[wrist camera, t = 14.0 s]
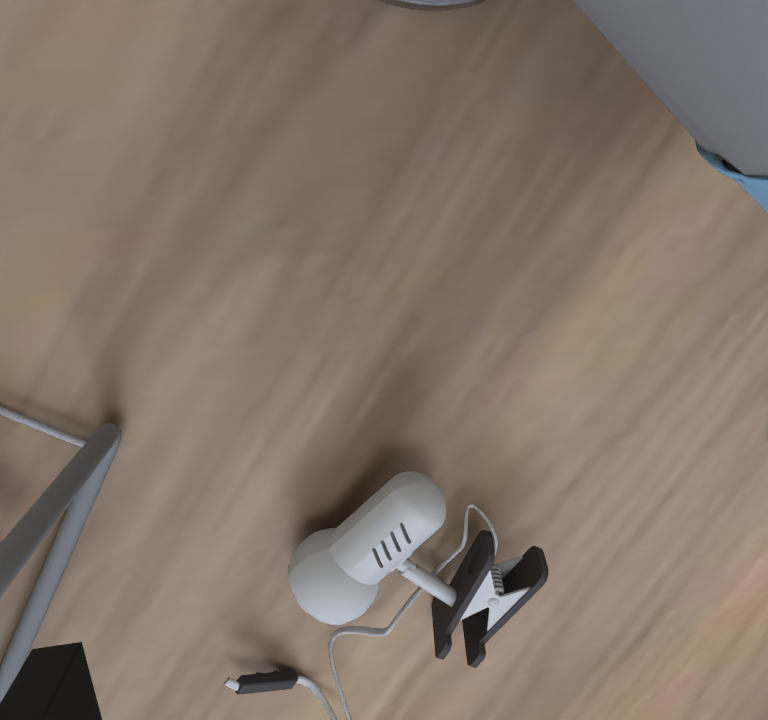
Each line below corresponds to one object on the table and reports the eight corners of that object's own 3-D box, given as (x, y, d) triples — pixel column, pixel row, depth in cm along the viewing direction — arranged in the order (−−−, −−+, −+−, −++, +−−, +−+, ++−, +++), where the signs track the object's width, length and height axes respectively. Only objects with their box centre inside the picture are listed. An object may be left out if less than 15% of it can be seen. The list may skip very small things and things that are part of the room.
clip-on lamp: (353, 693, 49) (551, 537, 43) (349, 787, 44) (576, 625, 37) (206, 611, 46) (398, 427, 39) (182, 703, 40) (401, 506, 33)
